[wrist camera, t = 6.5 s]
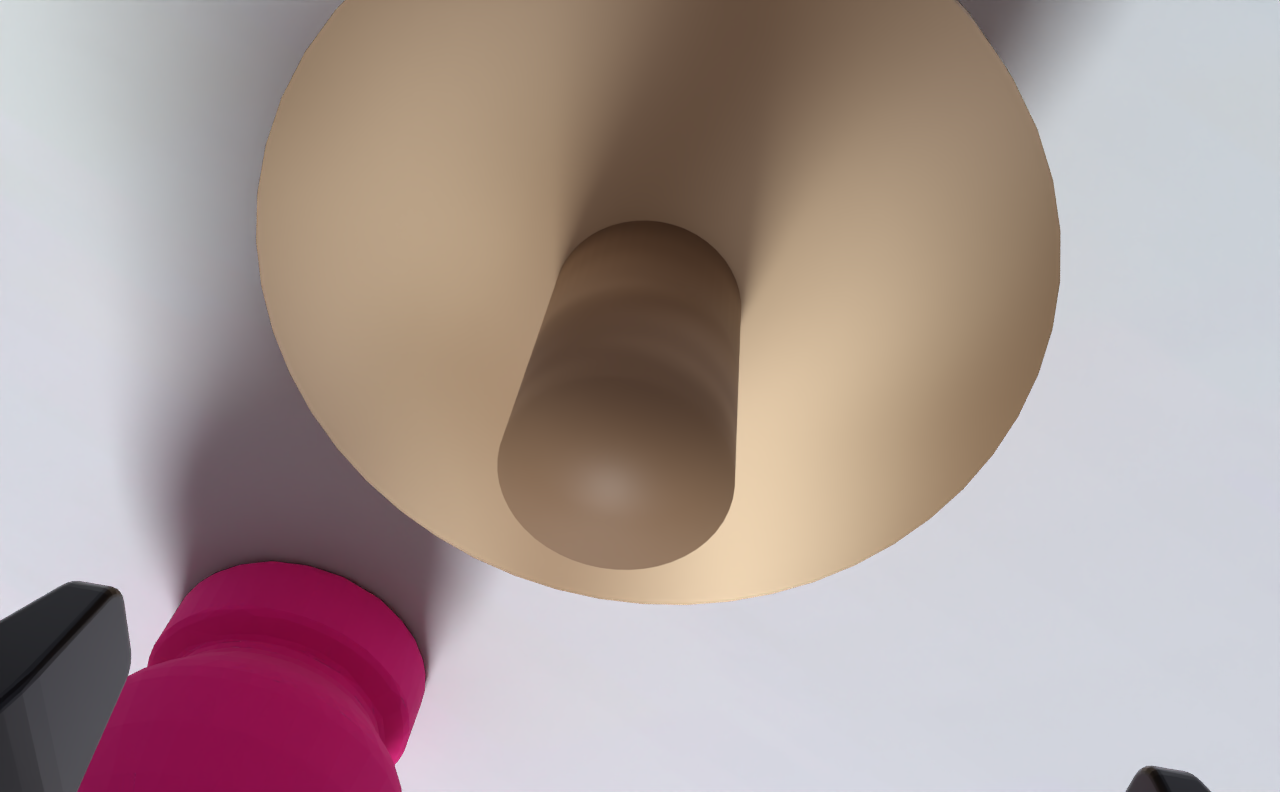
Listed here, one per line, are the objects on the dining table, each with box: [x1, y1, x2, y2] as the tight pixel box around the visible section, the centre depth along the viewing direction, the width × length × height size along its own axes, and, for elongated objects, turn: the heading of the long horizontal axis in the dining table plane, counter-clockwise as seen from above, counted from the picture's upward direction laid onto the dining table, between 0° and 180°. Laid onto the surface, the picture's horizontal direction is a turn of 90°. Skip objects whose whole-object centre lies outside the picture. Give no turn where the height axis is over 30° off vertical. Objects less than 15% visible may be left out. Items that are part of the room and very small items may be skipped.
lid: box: [256, 0, 1060, 605], centre depth 14 cm, size 11×11×5 cm
